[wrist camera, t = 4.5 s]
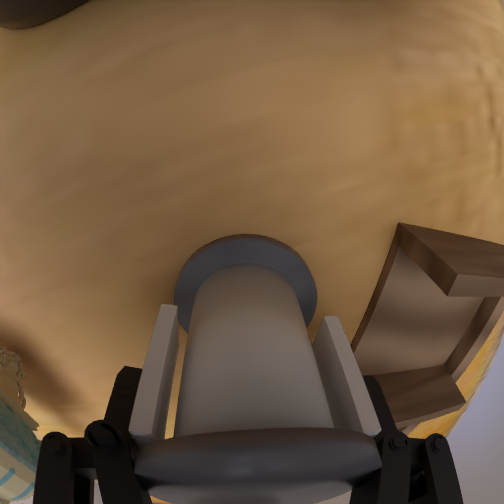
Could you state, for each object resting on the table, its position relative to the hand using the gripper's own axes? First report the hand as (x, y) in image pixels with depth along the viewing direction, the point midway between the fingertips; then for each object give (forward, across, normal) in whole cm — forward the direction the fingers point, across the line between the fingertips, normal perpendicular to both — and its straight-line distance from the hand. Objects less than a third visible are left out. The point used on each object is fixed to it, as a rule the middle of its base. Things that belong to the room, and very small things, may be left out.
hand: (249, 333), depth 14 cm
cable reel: (+4, 0, -1) cm, 4 cm away
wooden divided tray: (+4, +16, -8) cm, 18 cm away
